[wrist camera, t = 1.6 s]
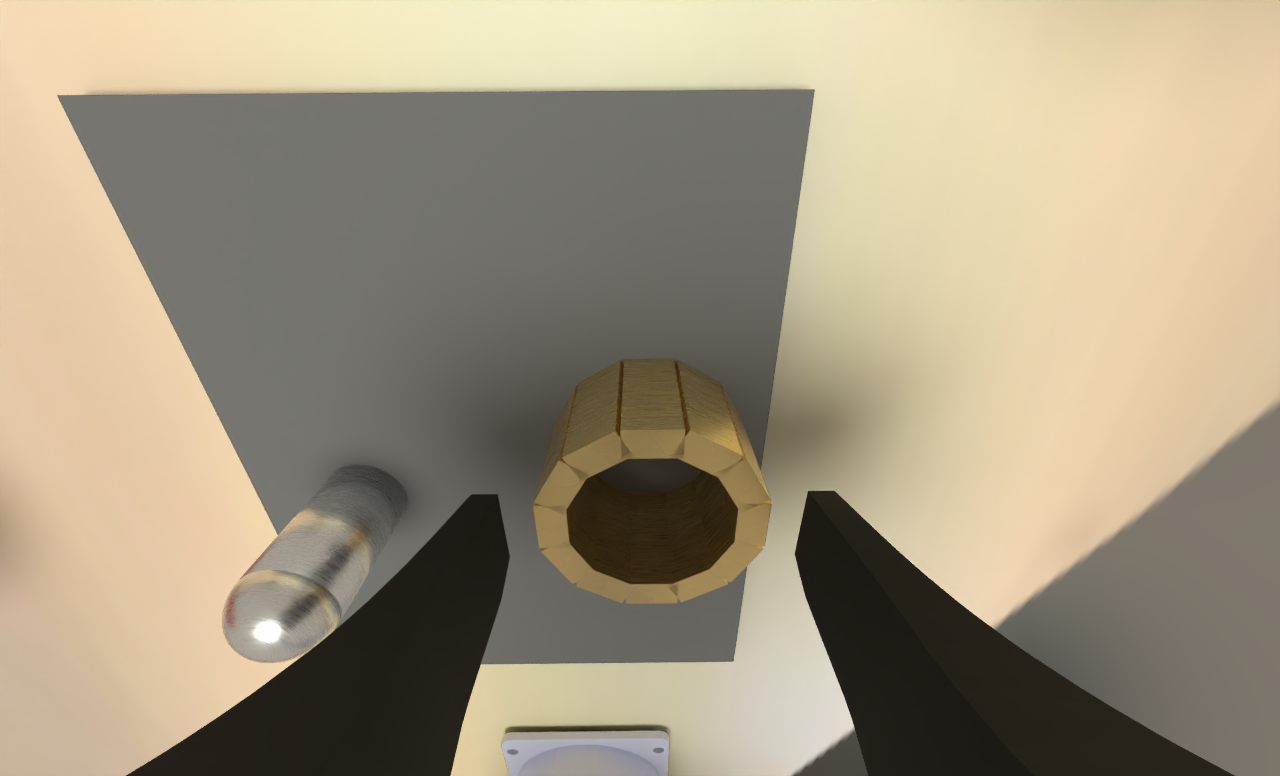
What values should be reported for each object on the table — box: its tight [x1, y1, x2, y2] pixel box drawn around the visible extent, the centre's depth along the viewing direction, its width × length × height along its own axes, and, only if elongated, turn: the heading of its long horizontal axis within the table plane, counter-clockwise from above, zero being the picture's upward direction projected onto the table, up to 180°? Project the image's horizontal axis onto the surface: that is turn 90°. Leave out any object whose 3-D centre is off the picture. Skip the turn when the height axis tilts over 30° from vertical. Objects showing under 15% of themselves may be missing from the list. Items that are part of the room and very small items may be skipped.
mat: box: [57, 90, 815, 664], centre depth 15 cm, size 20×16×1 cm
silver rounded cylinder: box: [222, 465, 408, 663], centre depth 13 cm, size 2×2×6 cm
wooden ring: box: [533, 359, 771, 604], centre depth 13 cm, size 6×6×4 cm
